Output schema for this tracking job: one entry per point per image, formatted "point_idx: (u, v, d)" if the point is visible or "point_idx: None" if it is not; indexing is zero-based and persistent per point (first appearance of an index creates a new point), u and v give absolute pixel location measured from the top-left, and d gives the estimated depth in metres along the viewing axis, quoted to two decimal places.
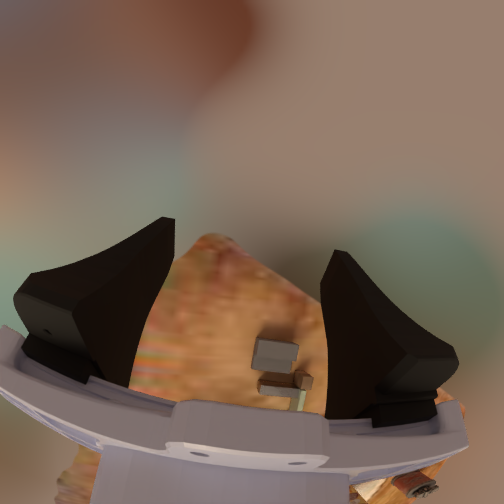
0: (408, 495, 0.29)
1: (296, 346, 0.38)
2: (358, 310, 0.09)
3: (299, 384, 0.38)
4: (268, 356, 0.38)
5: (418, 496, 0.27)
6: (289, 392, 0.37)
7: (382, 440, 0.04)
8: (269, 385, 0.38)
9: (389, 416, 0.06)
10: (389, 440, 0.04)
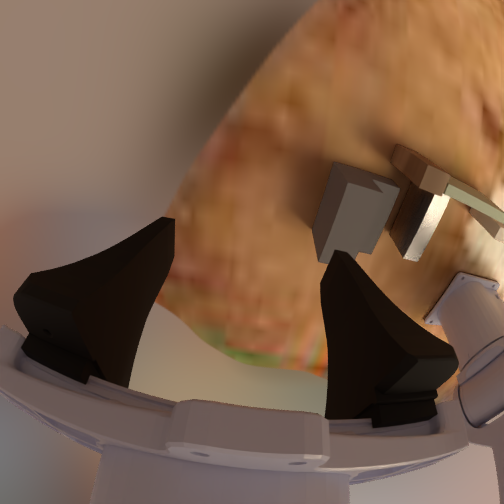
0: None
1: (349, 189, 0.15)
2: (358, 310, 0.09)
3: None
4: (357, 247, 0.18)
5: None
6: (435, 209, 0.16)
7: (382, 440, 0.04)
8: (408, 240, 0.18)
9: (389, 416, 0.06)
10: (389, 440, 0.04)
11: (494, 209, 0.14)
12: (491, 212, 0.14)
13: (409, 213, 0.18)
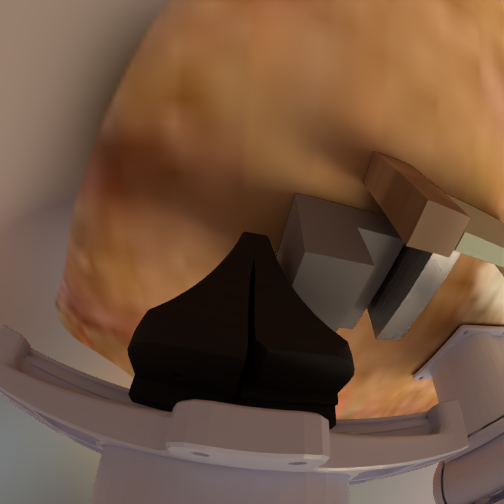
0: None
1: (309, 262, 0.09)
2: (251, 294, 0.08)
3: None
4: None
5: None
6: (436, 269, 0.09)
7: (382, 440, 0.04)
8: (387, 312, 0.11)
9: None
10: (389, 440, 0.04)
11: None
12: None
13: (392, 267, 0.12)
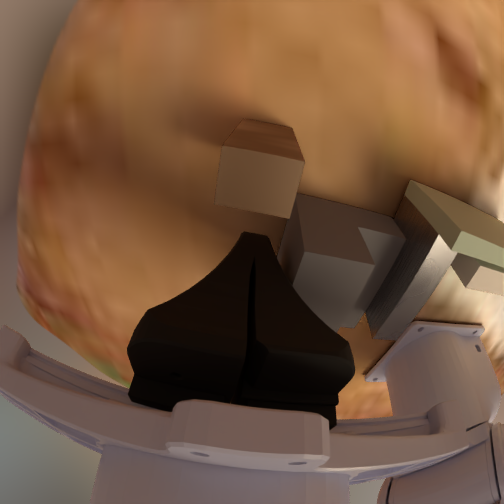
0: None
1: (309, 262, 0.09)
2: (252, 294, 0.08)
3: None
4: None
5: None
6: (433, 269, 0.09)
7: (382, 440, 0.04)
8: (383, 312, 0.11)
9: None
10: (389, 440, 0.04)
11: None
12: None
13: None
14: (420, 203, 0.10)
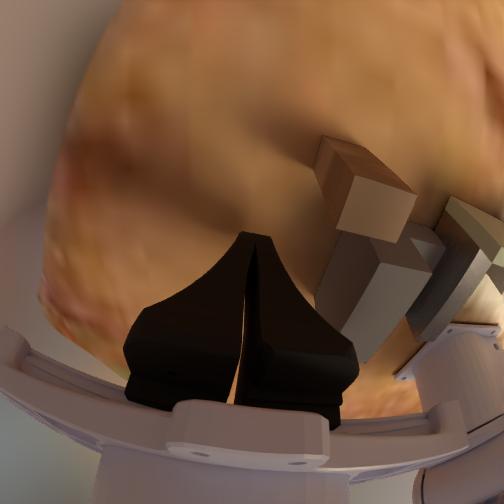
0: None
1: (382, 271, 0.09)
2: (256, 294, 0.08)
3: None
4: (379, 342, 0.11)
5: None
6: (472, 278, 0.09)
7: (382, 440, 0.04)
8: (426, 316, 0.11)
9: None
10: (389, 440, 0.04)
11: None
12: None
13: None
14: (461, 219, 0.10)
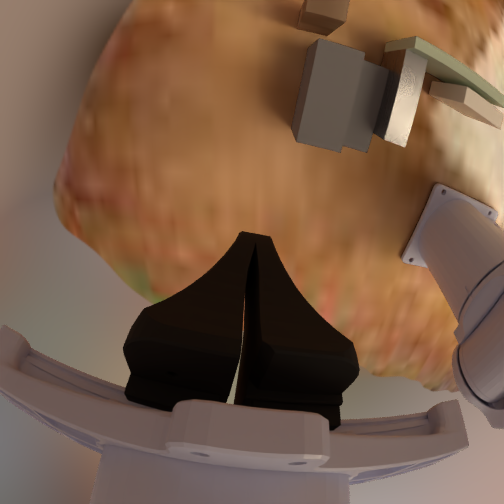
0: None
1: (322, 45, 0.10)
2: (256, 294, 0.08)
3: (331, 23, 0.10)
4: (344, 122, 0.13)
5: None
6: (412, 75, 0.11)
7: (382, 440, 0.04)
8: (387, 117, 0.13)
9: None
10: (389, 440, 0.04)
11: (487, 83, 0.09)
12: (484, 86, 0.09)
13: None
14: (393, 46, 0.11)
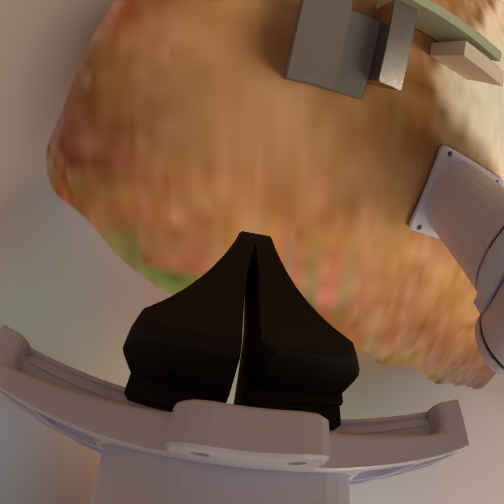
0: None
1: None
2: (256, 294, 0.08)
3: None
4: (336, 58, 0.11)
5: None
6: (402, 22, 0.09)
7: (382, 440, 0.04)
8: (380, 61, 0.11)
9: None
10: (389, 440, 0.04)
11: (479, 34, 0.07)
12: (476, 36, 0.07)
13: (376, 42, 0.12)
14: (383, 1, 0.10)
